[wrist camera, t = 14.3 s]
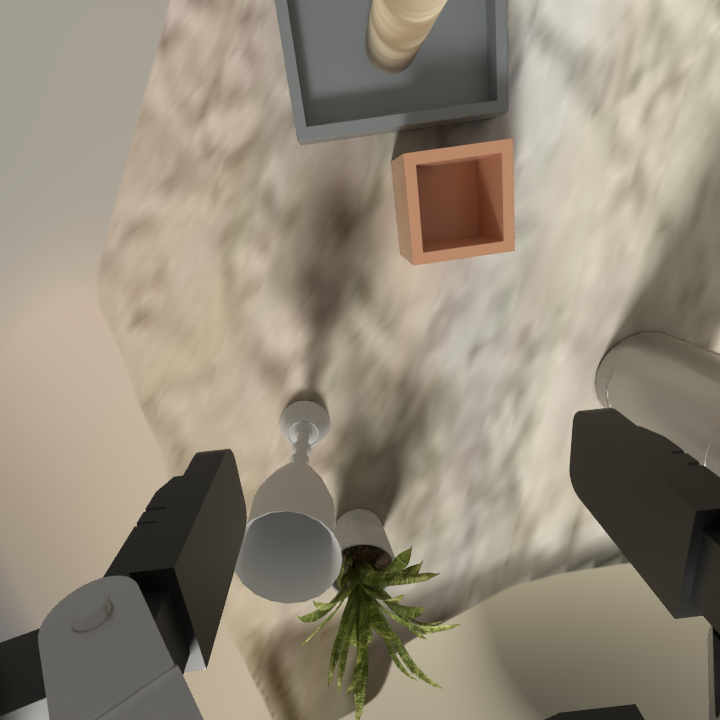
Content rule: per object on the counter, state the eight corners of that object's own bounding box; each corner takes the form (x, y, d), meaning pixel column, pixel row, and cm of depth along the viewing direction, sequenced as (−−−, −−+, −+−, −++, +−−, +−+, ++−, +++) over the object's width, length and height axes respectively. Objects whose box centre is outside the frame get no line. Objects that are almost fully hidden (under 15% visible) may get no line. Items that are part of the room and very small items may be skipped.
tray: (489, -68, 32) (504, -93, 30) (494, 117, 36) (508, 110, 34) (270, -38, 32) (265, -60, 29) (300, 145, 36) (297, 140, 34)
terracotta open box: (481, 149, 37) (513, 138, 31) (484, 242, 40) (514, 250, 33) (390, 161, 37) (403, 153, 31) (400, 254, 40) (413, 265, 33)
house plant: (421, 584, 53) (458, 741, 37) (303, 588, 52) (291, 751, 37) (428, 480, 48) (473, 613, 33) (298, 484, 47) (282, 621, 32)
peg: (415, 7, 33) (458, -94, 22) (420, 70, 34) (462, 6, 23) (361, 15, 33) (376, -83, 21) (368, 77, 34) (385, 16, 23)
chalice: (260, 399, 44) (214, 525, 27) (327, 382, 43) (324, 498, 27) (283, 462, 46) (254, 613, 29) (347, 446, 46) (354, 589, 29)
